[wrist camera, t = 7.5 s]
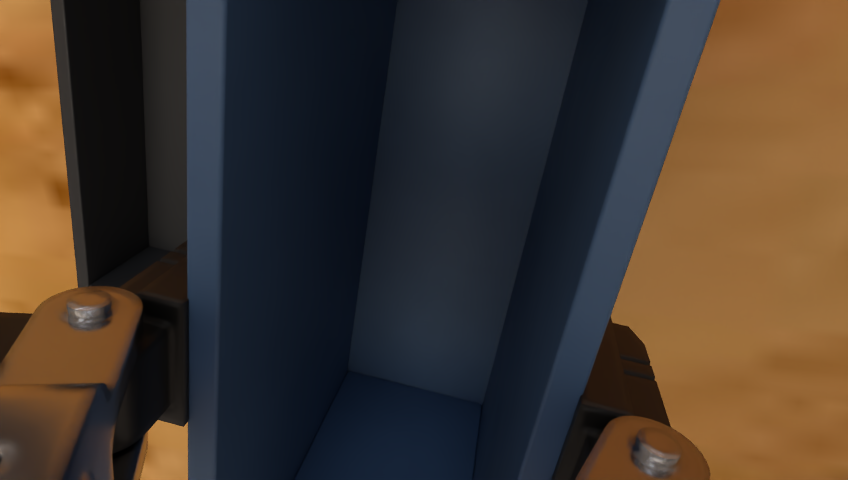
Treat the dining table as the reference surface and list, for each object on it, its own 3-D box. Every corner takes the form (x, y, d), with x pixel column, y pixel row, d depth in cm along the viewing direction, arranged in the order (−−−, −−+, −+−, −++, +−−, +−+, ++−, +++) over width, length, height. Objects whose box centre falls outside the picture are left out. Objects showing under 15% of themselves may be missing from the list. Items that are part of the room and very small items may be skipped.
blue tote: (393, -87, 14) (183, -212, 6) (620, -47, 14) (765, -122, 5) (336, 369, 20) (187, 651, 11) (495, 409, 20) (465, 735, 11)
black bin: (130, -148, 21) (31, -184, 17) (332, -114, 20) (281, -142, 16) (146, 248, 27) (77, 293, 23) (299, 285, 27) (256, 337, 23)
